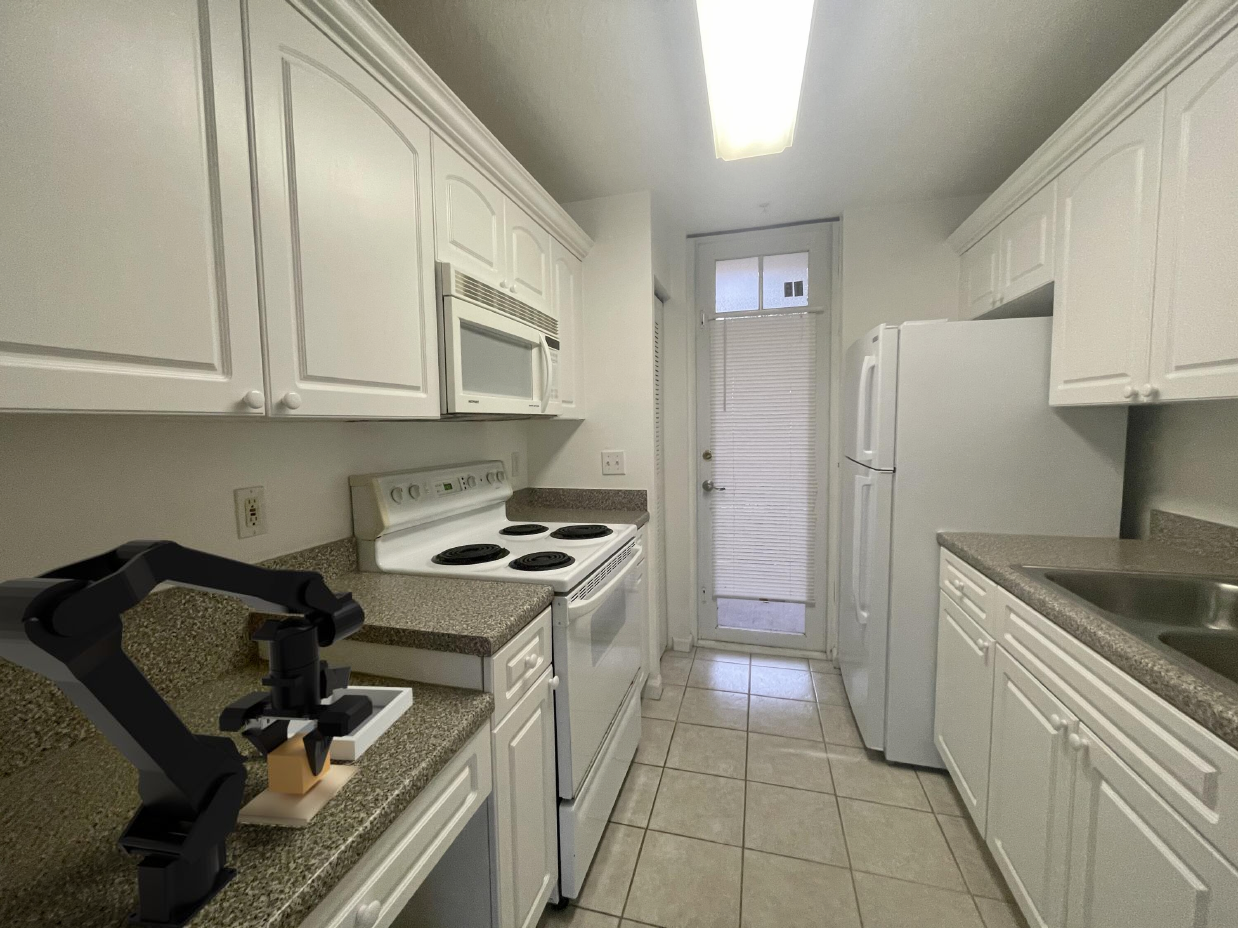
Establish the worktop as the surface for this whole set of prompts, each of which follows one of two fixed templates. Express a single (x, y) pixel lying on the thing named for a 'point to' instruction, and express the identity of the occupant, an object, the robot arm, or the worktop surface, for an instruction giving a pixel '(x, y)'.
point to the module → (292, 767)
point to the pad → (296, 800)
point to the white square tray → (385, 713)
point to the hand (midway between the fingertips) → (300, 773)
